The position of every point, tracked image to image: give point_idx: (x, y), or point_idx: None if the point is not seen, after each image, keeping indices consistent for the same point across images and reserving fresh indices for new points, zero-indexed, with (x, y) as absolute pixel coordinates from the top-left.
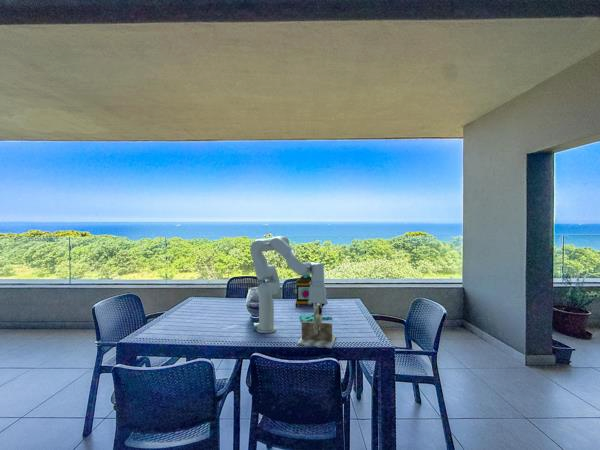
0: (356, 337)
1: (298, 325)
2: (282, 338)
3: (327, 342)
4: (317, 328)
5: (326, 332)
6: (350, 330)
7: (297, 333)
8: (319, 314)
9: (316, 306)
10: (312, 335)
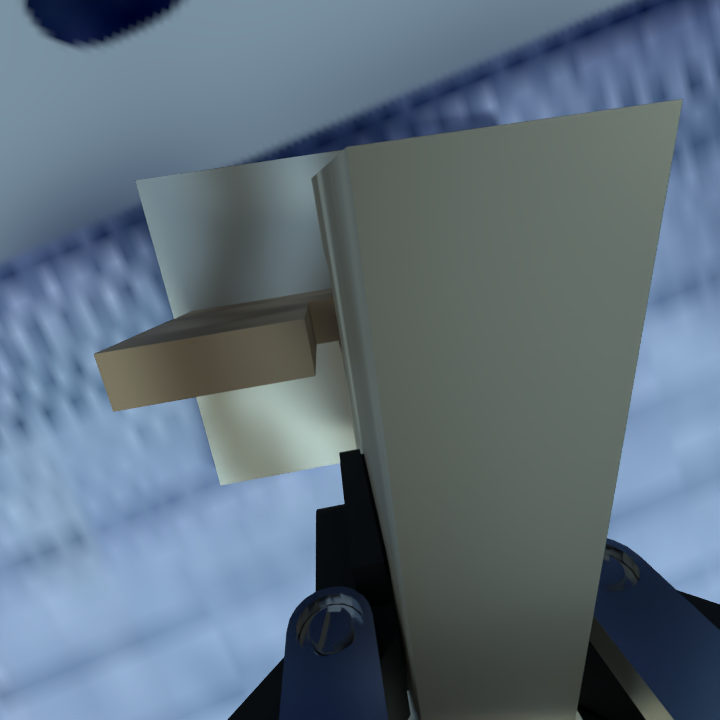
0: (49, 543)
1: None
2: (680, 257)
3: (221, 266)
4: (319, 221)
5: (226, 315)
6: (172, 668)
7: None
8: (355, 452)
9: (433, 137)
10: None
